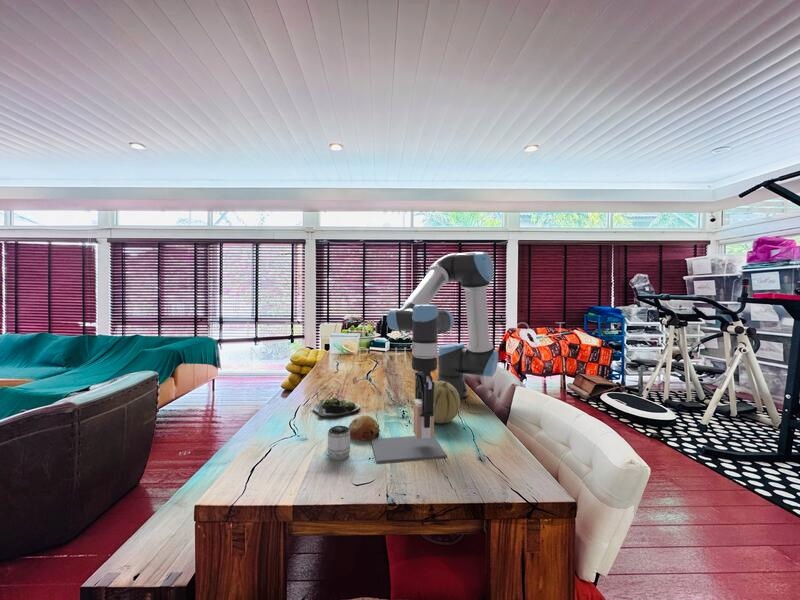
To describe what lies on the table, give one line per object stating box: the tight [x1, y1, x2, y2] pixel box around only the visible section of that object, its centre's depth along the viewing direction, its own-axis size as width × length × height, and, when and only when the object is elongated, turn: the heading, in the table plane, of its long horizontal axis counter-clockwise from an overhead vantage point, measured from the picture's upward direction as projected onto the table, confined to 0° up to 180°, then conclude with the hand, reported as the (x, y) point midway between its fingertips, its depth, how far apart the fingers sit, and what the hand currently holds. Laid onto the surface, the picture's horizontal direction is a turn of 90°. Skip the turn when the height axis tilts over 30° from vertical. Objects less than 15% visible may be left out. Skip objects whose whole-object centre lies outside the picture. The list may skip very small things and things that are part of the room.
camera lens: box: [327, 425, 351, 461], centre depth 96 cm, size 6×6×8 cm
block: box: [412, 398, 435, 439], centre depth 101 cm, size 5×5×10 cm
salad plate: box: [312, 397, 361, 419], centre depth 134 cm, size 19×18×5 cm
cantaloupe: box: [433, 380, 461, 424], centre depth 122 cm, size 15×15×15 cm
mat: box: [370, 435, 448, 464], centre depth 101 cm, size 20×14×1 cm
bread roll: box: [348, 414, 381, 442], centre depth 110 cm, size 10×10×8 cm
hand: (423, 433), depth 102 cm, fingers closed on block, 5 cm apart
